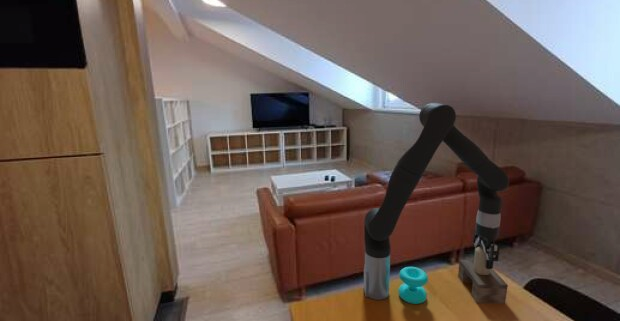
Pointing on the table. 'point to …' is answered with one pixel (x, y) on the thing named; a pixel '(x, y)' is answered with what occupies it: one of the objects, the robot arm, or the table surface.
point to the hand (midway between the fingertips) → (483, 261)
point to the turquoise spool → (413, 285)
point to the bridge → (483, 283)
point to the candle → (480, 261)
